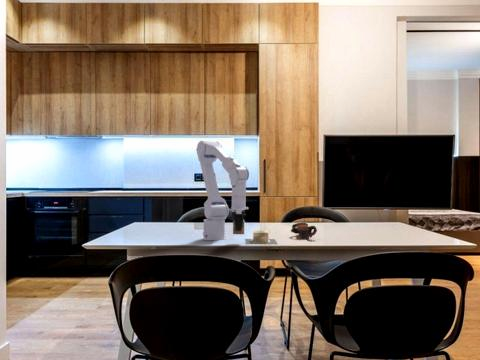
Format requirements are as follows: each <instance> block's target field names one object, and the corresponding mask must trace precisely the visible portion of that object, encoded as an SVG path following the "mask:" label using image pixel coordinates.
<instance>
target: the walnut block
mask: <svg viewBox="0 0 480 360" xmlns="http://www.w3.org/2000/svg"><path fill="white" fill-rule="evenodd" d="M232 235H245V220H243V224H242V229H241V231H236V229H235V222H234V220H233V221H232Z"/></svg>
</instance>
